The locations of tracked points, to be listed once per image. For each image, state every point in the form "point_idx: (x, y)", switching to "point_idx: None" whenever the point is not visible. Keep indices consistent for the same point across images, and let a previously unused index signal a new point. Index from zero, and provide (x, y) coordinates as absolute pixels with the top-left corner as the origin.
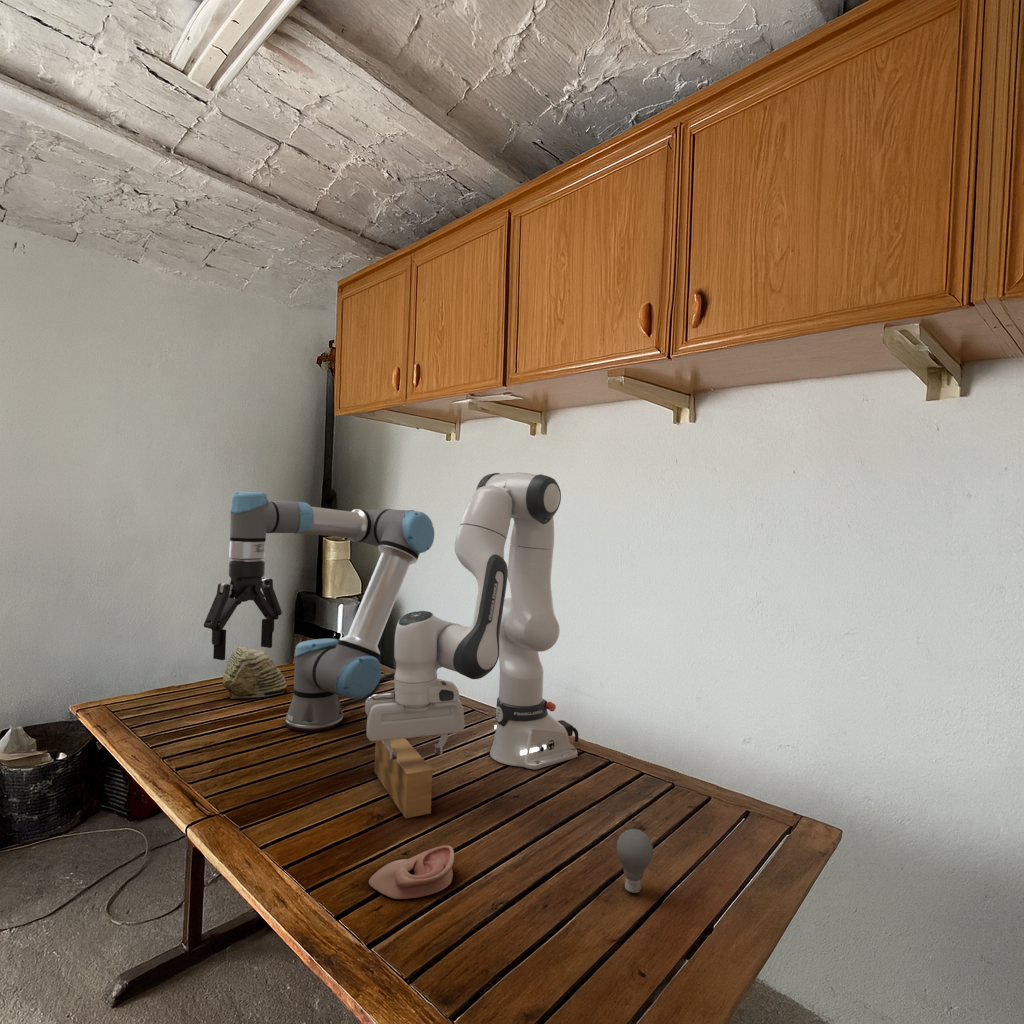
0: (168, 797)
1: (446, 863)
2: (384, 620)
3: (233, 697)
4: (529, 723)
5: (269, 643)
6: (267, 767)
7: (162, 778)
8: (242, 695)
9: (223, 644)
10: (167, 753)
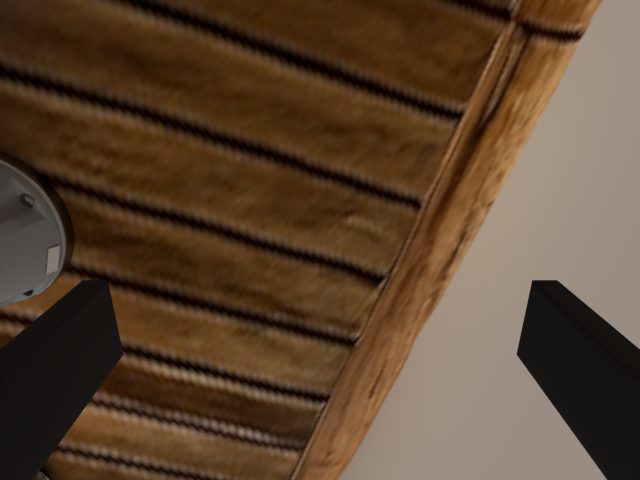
0: (488, 187)
1: None
2: None
3: (44, 477)
4: None
5: (90, 300)
6: (271, 116)
7: (424, 269)
8: None
9: (633, 349)
10: (331, 355)
